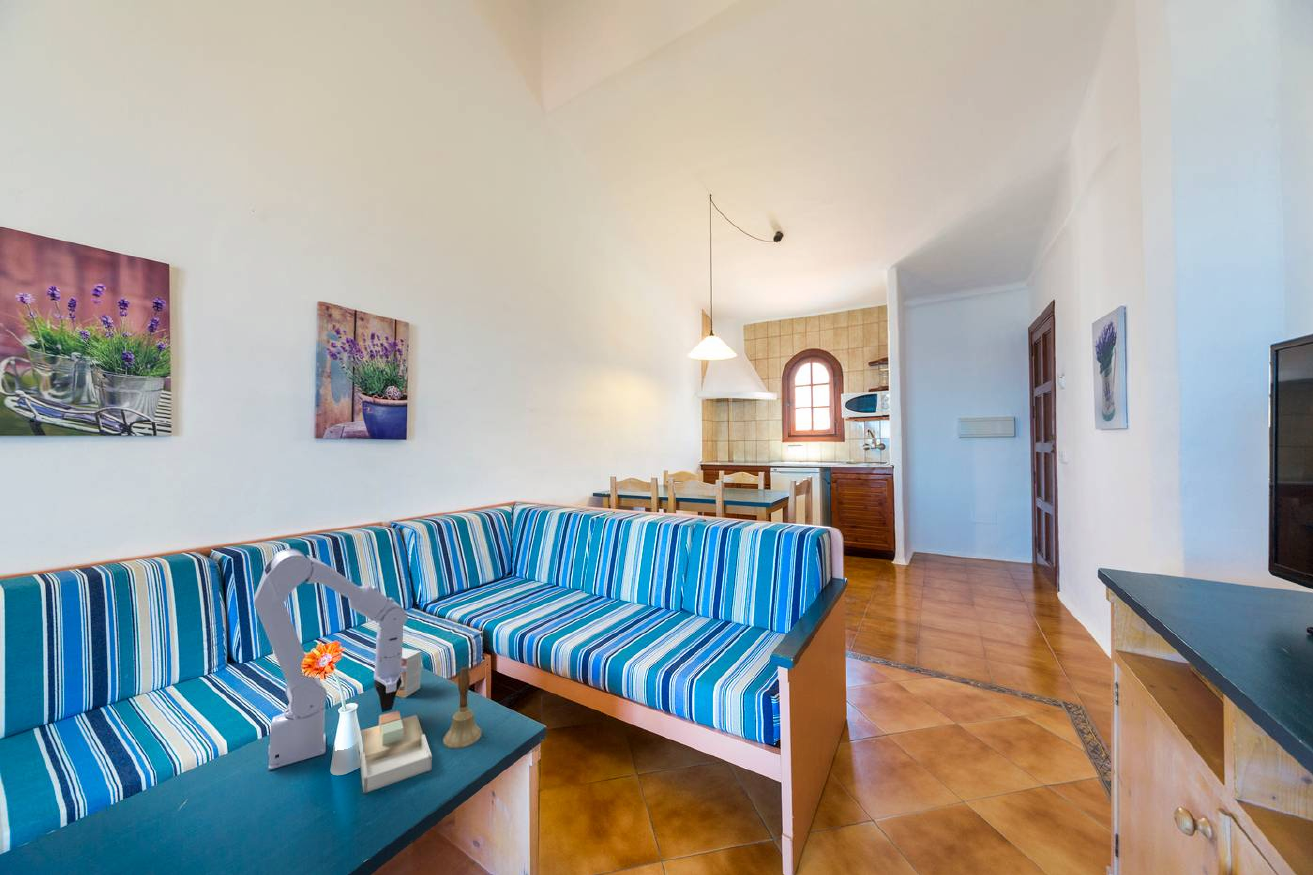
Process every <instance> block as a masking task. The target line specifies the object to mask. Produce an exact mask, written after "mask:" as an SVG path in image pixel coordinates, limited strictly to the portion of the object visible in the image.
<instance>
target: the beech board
mask: <svg viewBox="0 0 1313 875" xmlns="http://www.w3.org/2000/svg"><path fill="white" fill-rule="evenodd" d="M401 720H402V724H403V728H404V729H403V740H399V741H396V742H393V743H389V744H386V745H383V746H382V742H381V735H380V731H379V724H378V725H376V726H372V727H368V728H364V729H361V730H360V731H361V734H362V740H363V753H365V760H366V763H370V762H373V761H376V760H379V759H382V758H385V757H388V756H391V755H395V754H398V753H401V752H404V751H407V750H410V749H413V748H417V747H420V746H421V737H422V735H423V734H424V733H423V729H422V726H421V723H420V721H419V718H418V714H414V715H411V716H407V717H403V718H401Z"/></svg>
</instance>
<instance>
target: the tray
mask: <svg viewBox="0 0 1313 875" xmlns="http://www.w3.org/2000/svg"><path fill="white" fill-rule="evenodd" d="M432 762H433V755H432V752H431V749H430V747H429V744H428V740H427V738H426V734H425V733H423V735H422V737H421V746H420V747H417V748H413V749H410V750H407V751H404V752H401V753H398V754H395V755H391V756H388V757H385V758H382V759H379V760H376V761H373V762H370V763H366V760H365V753H361V767H360V775H361V784H362V791H363V792H362V794H366V793H369V792H372V791H374V790H378V789H380V788H383V787H386V786H390V785H391V784H395V783H397V782H401V781H403V780H406V779H409V778H413V777H414V776H417V775H420V774H421V775H422V774H423V773H427V772H429V771H431V770H432V765H433V763H432Z"/></svg>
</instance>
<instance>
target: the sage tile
mask: <svg viewBox="0 0 1313 875" xmlns="http://www.w3.org/2000/svg"><path fill="white" fill-rule="evenodd" d="M403 729H404V728H403V724H402V720H397V721H393V722H390V723H386V724H383V725H381V742H382V746H383V745H386V744H389V743H393V742H396V741H399V740H403Z"/></svg>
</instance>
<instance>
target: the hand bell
mask: <svg viewBox="0 0 1313 875" xmlns="http://www.w3.org/2000/svg"><path fill="white" fill-rule="evenodd" d="M470 683H471V677H470V673H469V671H468V666H463V667H461V668H460V672H459V675H458V679H457V688H458V689H457V690H458V693H459V710H457V711H456V712H454V714H453V716H452V721H451V725H450V728H449V730H448V731H447V732H446V733H445V735H444V737H443V738H442V743H443V745H444V746H445V747H447V748H450V749H463V748H466V747H469V746H471V745H473V744H475V743H476V742H478V741H479V740H480V738H481V737H482V735H483V734H482V733H483V732H482V729H481V728H480V727H479V726H478V725H477V723H476V721H475V713H474V711H473V709H470V708H468V692H469V690H470Z"/></svg>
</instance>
